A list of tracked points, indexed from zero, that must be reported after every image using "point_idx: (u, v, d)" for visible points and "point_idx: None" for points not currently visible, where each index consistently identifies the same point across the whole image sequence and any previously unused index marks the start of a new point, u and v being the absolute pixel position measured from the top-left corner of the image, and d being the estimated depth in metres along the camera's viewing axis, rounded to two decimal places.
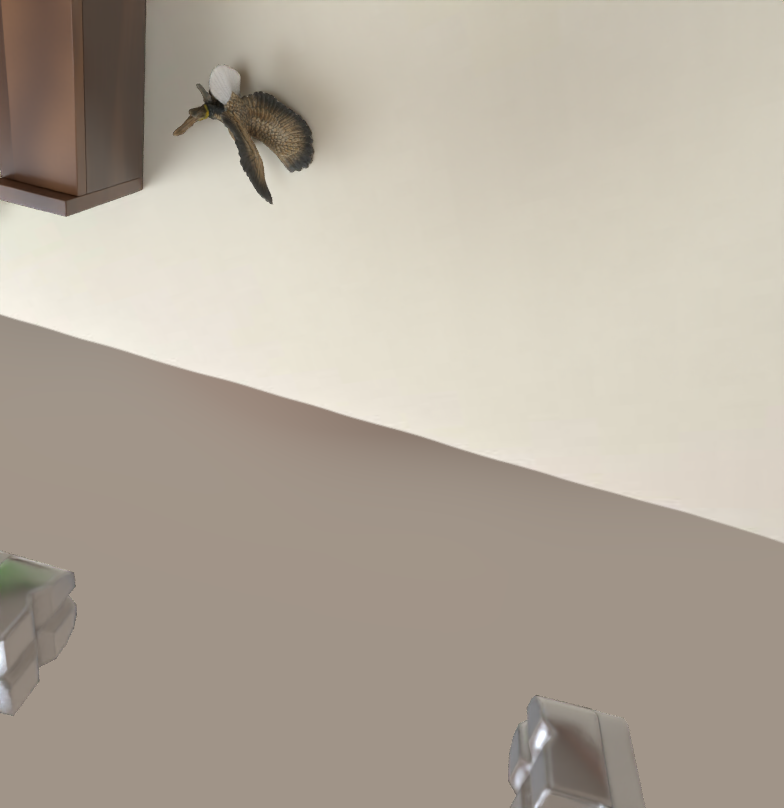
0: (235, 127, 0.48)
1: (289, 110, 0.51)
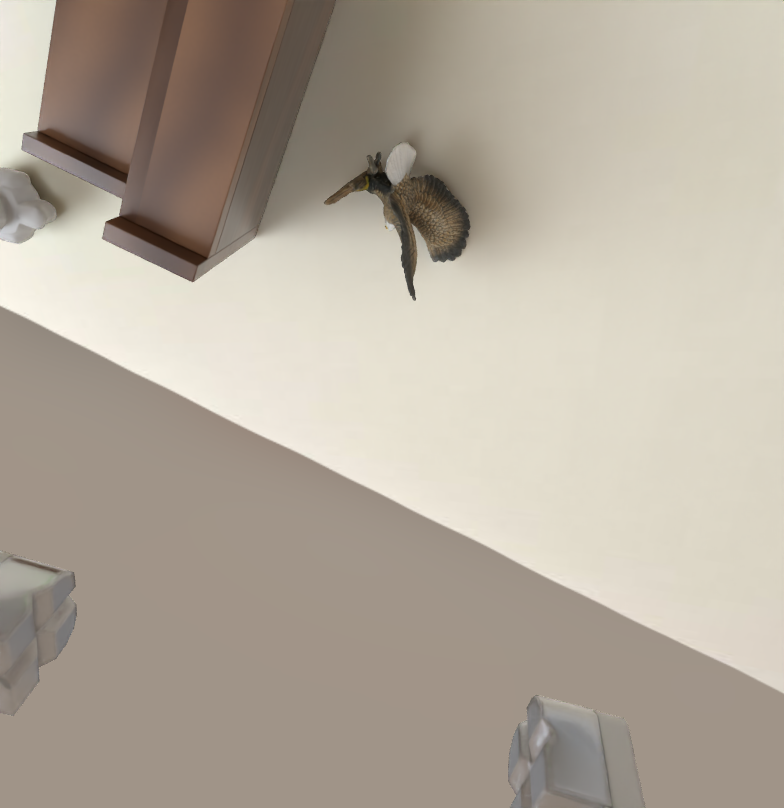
0: (402, 215, 0.42)
1: (456, 201, 0.44)
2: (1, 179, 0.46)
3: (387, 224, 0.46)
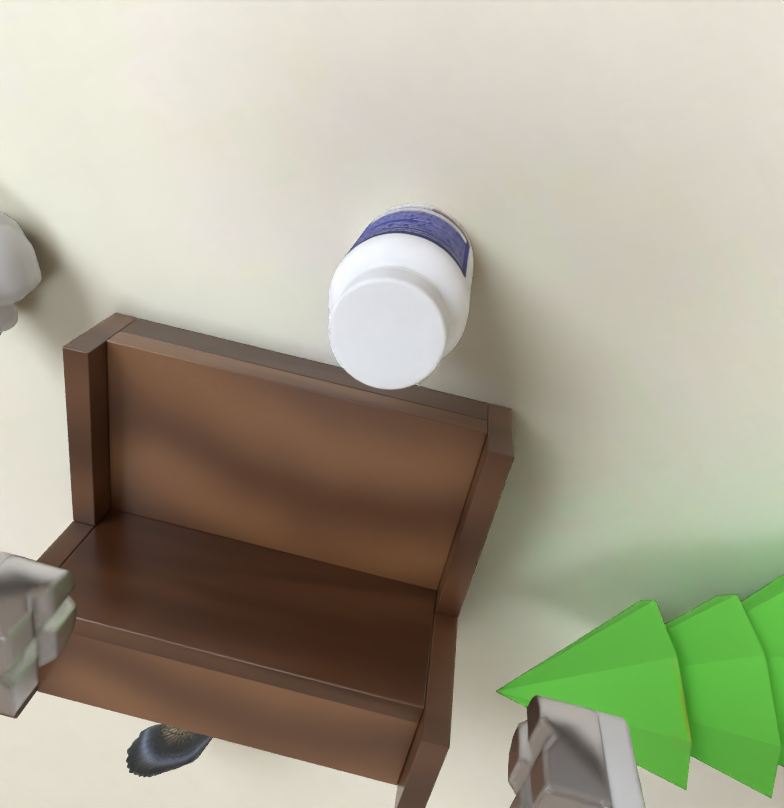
0: None
1: None
2: (4, 282, 0.28)
3: None
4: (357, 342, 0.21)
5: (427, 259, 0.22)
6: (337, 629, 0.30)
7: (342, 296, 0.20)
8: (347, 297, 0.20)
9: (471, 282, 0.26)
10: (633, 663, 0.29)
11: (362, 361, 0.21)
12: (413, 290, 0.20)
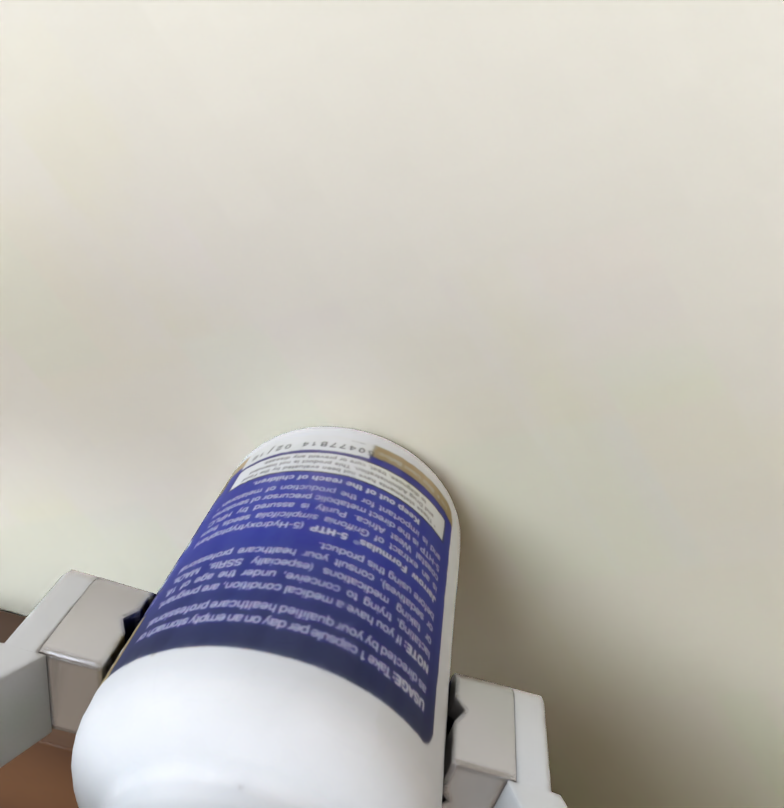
0: None
1: None
2: None
3: None
4: None
5: (314, 760, 0.07)
6: None
7: None
8: None
9: (453, 622, 0.12)
10: None
11: None
12: None
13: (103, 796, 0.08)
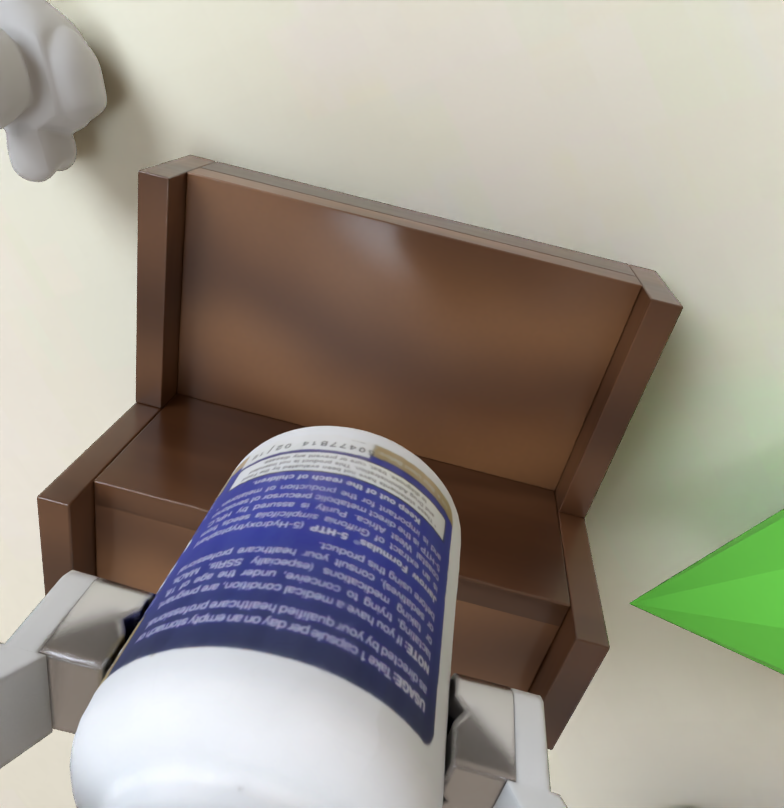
0: None
1: None
2: (68, 93, 0.23)
3: None
4: None
5: (314, 761, 0.07)
6: None
7: None
8: None
9: None
10: None
11: None
12: None
13: (102, 797, 0.08)
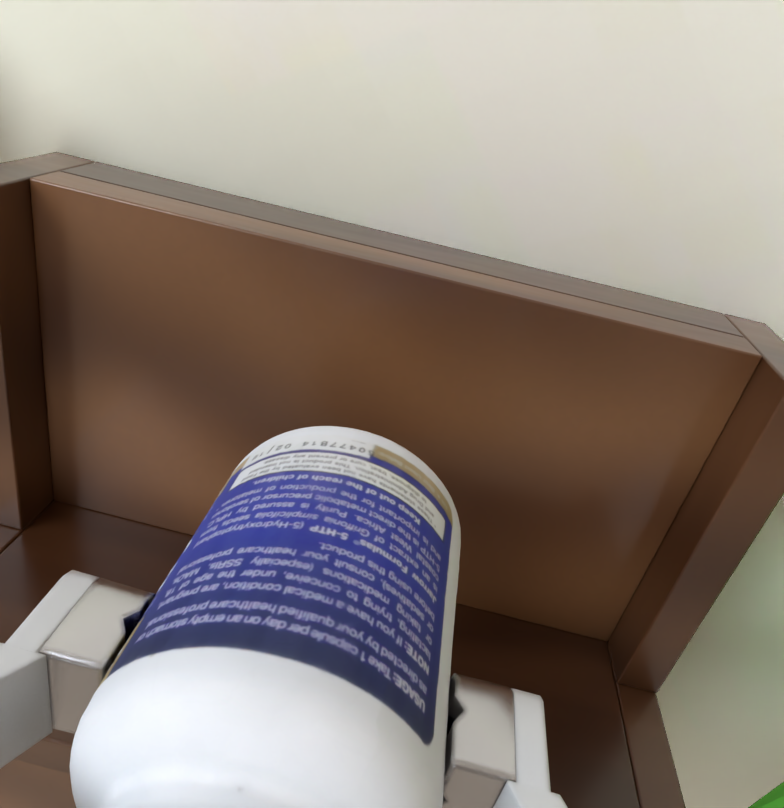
0: None
1: None
2: None
3: None
4: None
5: (314, 762, 0.07)
6: None
7: None
8: None
9: None
10: None
11: None
12: None
13: (102, 798, 0.08)
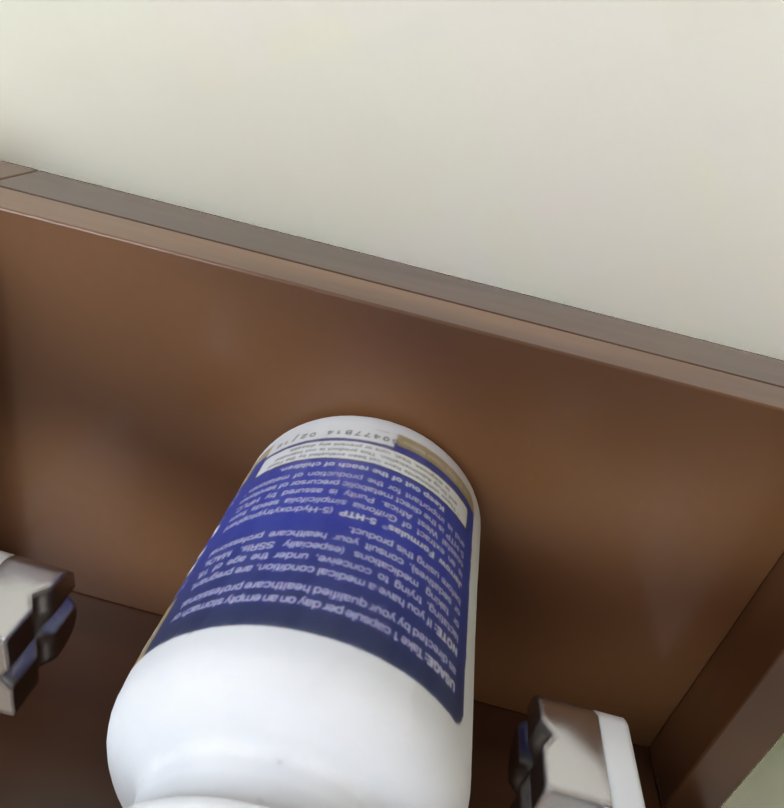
0: None
1: None
2: None
3: None
4: None
5: (352, 736, 0.07)
6: None
7: None
8: None
9: None
10: None
11: None
12: None
13: (141, 771, 0.08)
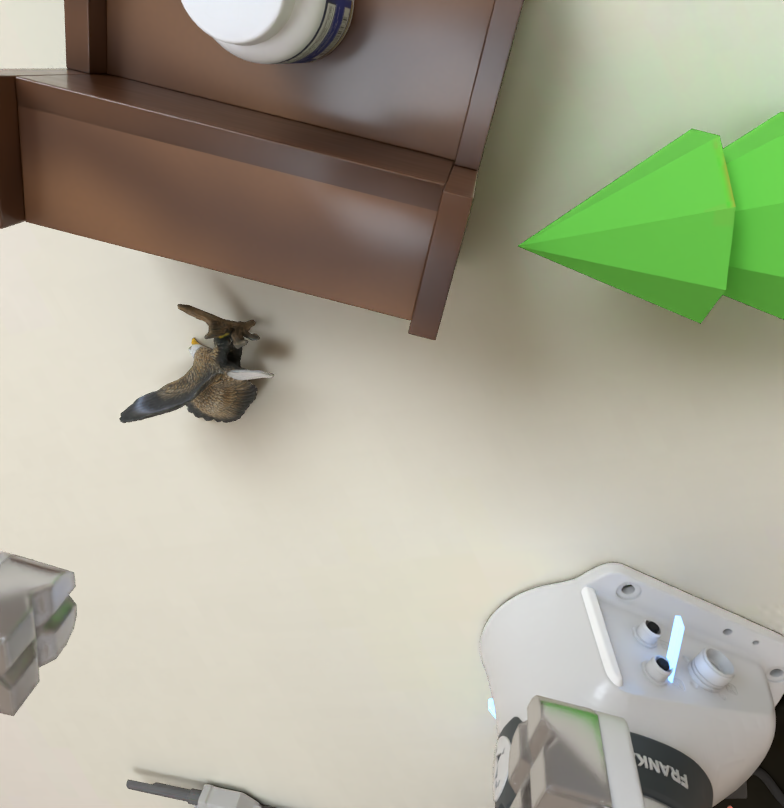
0: (198, 393, 0.38)
1: (242, 412, 0.42)
2: None
3: (193, 351, 0.40)
4: None
5: None
6: (350, 148, 0.28)
7: None
8: None
9: None
10: (670, 162, 0.27)
11: (209, 8, 0.22)
12: None
13: None
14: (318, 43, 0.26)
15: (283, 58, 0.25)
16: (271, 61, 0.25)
